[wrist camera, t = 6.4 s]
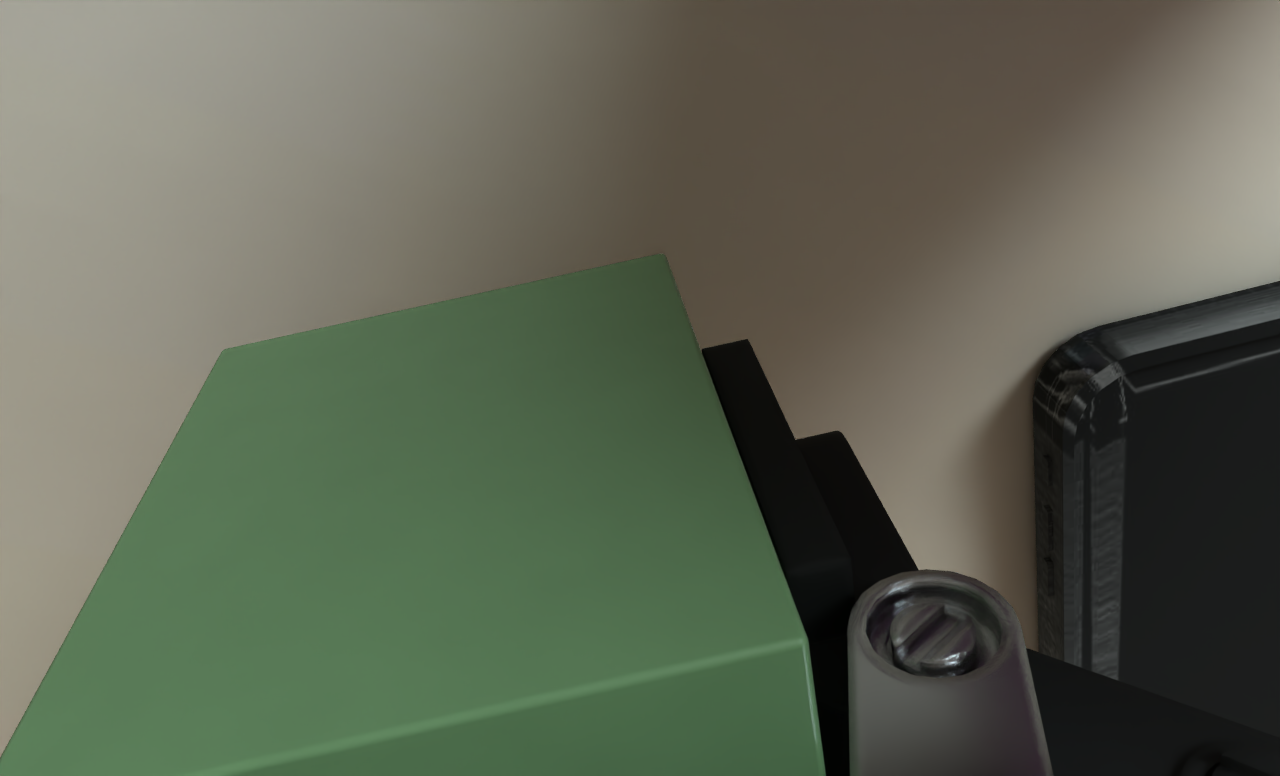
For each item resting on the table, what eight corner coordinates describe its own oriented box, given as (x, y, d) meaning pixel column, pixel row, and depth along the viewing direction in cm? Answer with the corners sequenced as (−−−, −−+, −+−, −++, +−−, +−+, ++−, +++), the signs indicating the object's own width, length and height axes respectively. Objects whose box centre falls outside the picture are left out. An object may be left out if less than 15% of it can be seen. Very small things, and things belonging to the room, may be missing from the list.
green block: (368, 665, 13) (279, 1199, 8) (220, 347, 11) (-45, 831, 6) (726, 584, 13) (865, 1065, 8) (664, 250, 11) (810, 640, 6)
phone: (1537, 254, 16) (1389, 836, 23) (1476, 230, 17) (1353, 796, 24) (1055, 374, 16) (1061, 915, 23) (1023, 343, 17) (1039, 871, 24)
